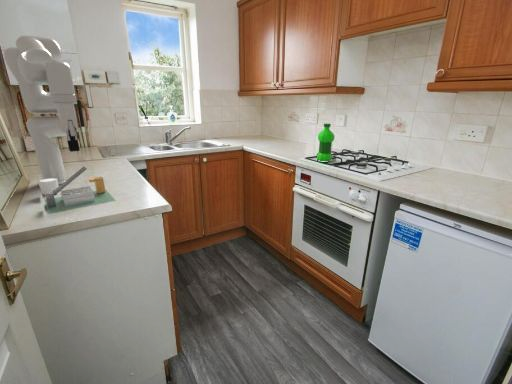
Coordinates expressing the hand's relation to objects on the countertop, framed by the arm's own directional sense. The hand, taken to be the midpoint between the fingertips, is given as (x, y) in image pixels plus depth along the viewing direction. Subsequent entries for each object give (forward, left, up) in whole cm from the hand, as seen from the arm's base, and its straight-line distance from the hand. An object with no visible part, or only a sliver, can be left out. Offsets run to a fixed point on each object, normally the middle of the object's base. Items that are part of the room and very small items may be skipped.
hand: (74, 150), depth 105 cm
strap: (0, -3, -12) cm, 12 cm away
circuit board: (0, -2, -21) cm, 21 cm away
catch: (-5, +6, -19) cm, 21 cm away
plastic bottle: (+10, +138, -21) cm, 140 cm away
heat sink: (0, -4, -20) cm, 20 cm away
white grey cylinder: (-19, -10, -21) cm, 30 cm away
